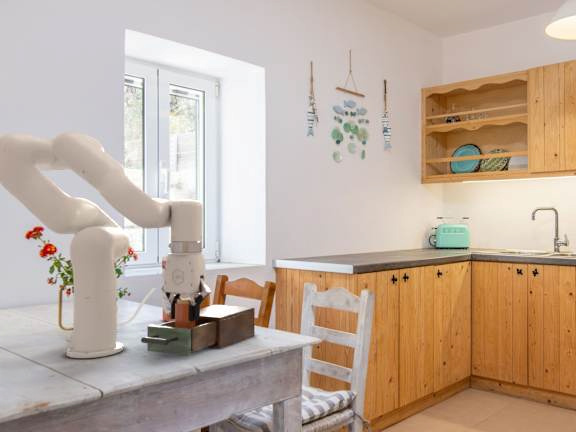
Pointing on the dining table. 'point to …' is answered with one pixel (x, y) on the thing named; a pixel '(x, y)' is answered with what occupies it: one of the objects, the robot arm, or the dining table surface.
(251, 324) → the cabinet
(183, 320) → the spice jar
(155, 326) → the drawer
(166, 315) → the cracker box
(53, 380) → the dining table surface
